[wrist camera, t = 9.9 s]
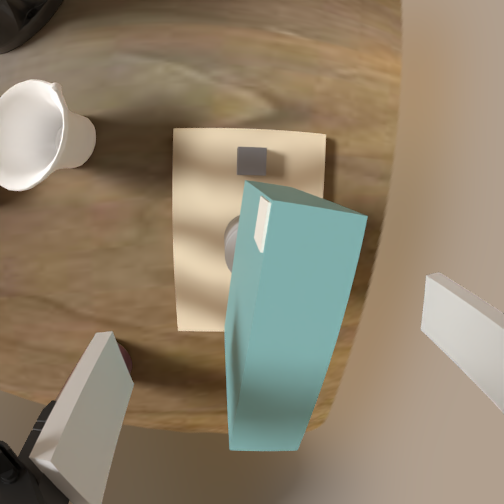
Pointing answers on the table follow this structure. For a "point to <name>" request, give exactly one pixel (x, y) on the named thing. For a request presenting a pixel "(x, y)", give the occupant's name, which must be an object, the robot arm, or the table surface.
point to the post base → (226, 205)
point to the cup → (40, 134)
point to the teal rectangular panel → (284, 310)
